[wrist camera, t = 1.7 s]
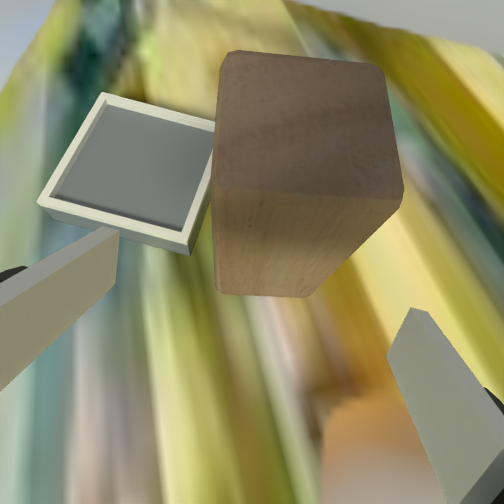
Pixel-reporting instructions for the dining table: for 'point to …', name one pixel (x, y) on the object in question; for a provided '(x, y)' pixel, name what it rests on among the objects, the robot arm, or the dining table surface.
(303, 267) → the block
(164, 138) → the baseplate
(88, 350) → the dining table surface
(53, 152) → the dining table surface
